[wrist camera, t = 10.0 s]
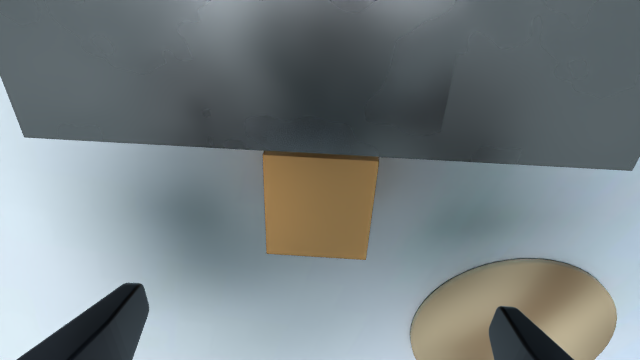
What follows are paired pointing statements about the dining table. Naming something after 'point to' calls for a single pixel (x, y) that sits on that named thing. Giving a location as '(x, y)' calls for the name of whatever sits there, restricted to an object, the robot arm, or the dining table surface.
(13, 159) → the dining table surface
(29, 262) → the dining table surface
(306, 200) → the tan block with bar
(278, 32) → the grey notched block
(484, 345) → the coaster
